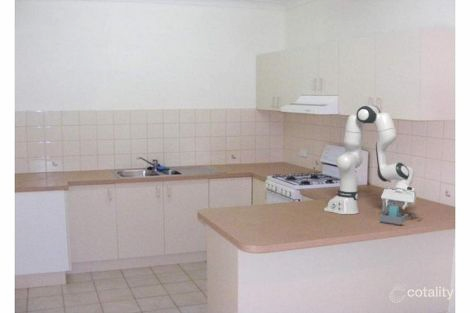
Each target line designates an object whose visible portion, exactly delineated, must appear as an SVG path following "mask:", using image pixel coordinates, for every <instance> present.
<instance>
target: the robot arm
mask: <svg viewBox="0 0 470 313" xmlns="http://www.w3.org/2000/svg"><path fill="white" fill-rule="evenodd" d="M365 124H373V125H375V129H376V132H377V140H376V142H375V154H376V162H377V172H376V173H377V177H378V178H379V179H380V180H381V181H382V182H384V183H385V182H389V181H392V180H395V181H396V182H395V184H394V187H393V188H390V187H386V188H384V190H383V192H382V194H381V197H380V198H381V201H382V202H383V201H386V207H388V208H389V204H388V203H389V202H392V203H398V205H399V204H400V205H401V204H402V205H401V207H400V209H401V211H405V209H406V208H407V207H408V206H414V205H415V204H416V200H417V198H416V196H417V192H416V189H415V188H414V187H412V186H411V185H412V183H413V180H414V175H415V170H414V169H413V168H412V167H410V166H409V165H405V164H404V163H402V162H396V163H395V162H394V163H391V164H388V163H387V155H386V151H387V149H388V147H390V146H391V145H392V144H394V142H395V141H396V139H397V136H398V134H397V129H396V126H395V123H394V120H393V118H392V115H391V114H390V113H389V112H381V110H380V108H379V107H378V106H376V105H374V104H373V105H371V104H368V105H364V106H361V107H359V108H358V109H357V111H356V113H355V114H354V113H353V114H351V115H349V116H348V118H347V120H346V123H345V128H344V135H343V145H344V153H343V154H340V155H339V156H338V157H337V159H336V162H335V164H336V167H337V168H338V172H339V189H338V190H337V191H335V194H336V195H335V196H334V197H333V198H331V199H329V200H328V201H327V202H328V203H327V206H326V207H324V208H323V211H325V212H329V213H334V214H339V215H357V214H359V206H358V199H359V198H358V197H359V195H358V194H359V192H358V183H359V182H358V181H359V180H358V177H357V174H356V169H357V168H359V167H360V166H361V165H362V163H363V156H362V139H363V131H364V126H365Z"/></svg>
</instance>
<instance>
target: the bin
mask: <svg viewBox="0 0 470 313" xmlns="http://www.w3.org/2000/svg"><path fill="white" fill-rule="evenodd" d="M408 215H409V214H408V213H404V212H403V213H402V212H399V217H393V216H389V211H387V212H383V213H381V214H380V216H379V224H383V225H390V226H394V227H402V226H403V223H405V222H407V221H409V220H408Z"/></svg>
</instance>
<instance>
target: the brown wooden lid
mask: <svg viewBox="0 0 470 313" xmlns="http://www.w3.org/2000/svg"><path fill="white" fill-rule="evenodd" d="M423 220H425V217H422V216H415V213H414V212H411V213H410V215H409V214H408V220H407V221H412V222H421V221H423Z"/></svg>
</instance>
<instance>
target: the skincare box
mask: <svg viewBox="0 0 470 313" xmlns="http://www.w3.org/2000/svg"><path fill="white" fill-rule="evenodd" d="M388 204H389V208H388V207H386V201H382V208H381V210H382V211H381V214H383V213H385V212H387V211H389V210H390V206H398V207H399V203H392V202H389V203H388Z"/></svg>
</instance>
